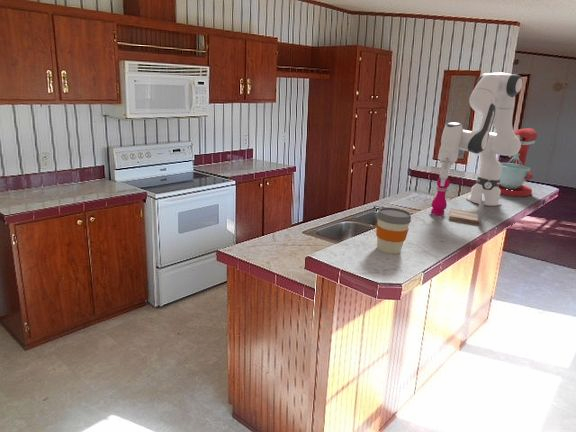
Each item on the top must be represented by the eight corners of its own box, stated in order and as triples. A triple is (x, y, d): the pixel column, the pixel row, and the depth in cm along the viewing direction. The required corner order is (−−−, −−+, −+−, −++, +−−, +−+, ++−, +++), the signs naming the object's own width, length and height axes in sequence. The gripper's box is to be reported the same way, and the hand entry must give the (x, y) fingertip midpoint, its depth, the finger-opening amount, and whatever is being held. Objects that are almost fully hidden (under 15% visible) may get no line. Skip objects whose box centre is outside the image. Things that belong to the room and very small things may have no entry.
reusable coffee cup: (412, 252, 178) (418, 215, 173) (388, 257, 171) (394, 218, 166) (389, 241, 188) (394, 206, 183) (365, 245, 181) (370, 208, 176)
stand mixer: (483, 190, 294) (497, 126, 282) (498, 184, 317) (512, 125, 305) (523, 199, 279) (539, 132, 267) (536, 192, 303) (552, 130, 291)
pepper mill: (445, 216, 229) (453, 177, 223) (430, 214, 231) (437, 175, 224) (444, 212, 236) (451, 174, 230) (429, 210, 237) (436, 172, 231)
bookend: (450, 211, 239) (454, 189, 235) (478, 216, 234) (484, 193, 231) (448, 220, 224) (453, 196, 221) (479, 225, 220) (484, 201, 216)
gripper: (453, 160, 214) (448, 189, 218) (455, 154, 233) (449, 181, 237) (439, 158, 216) (434, 187, 220) (442, 152, 235) (437, 179, 239)
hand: (442, 184), depth 229 cm, fingers closed on pepper mill, 6 cm apart
